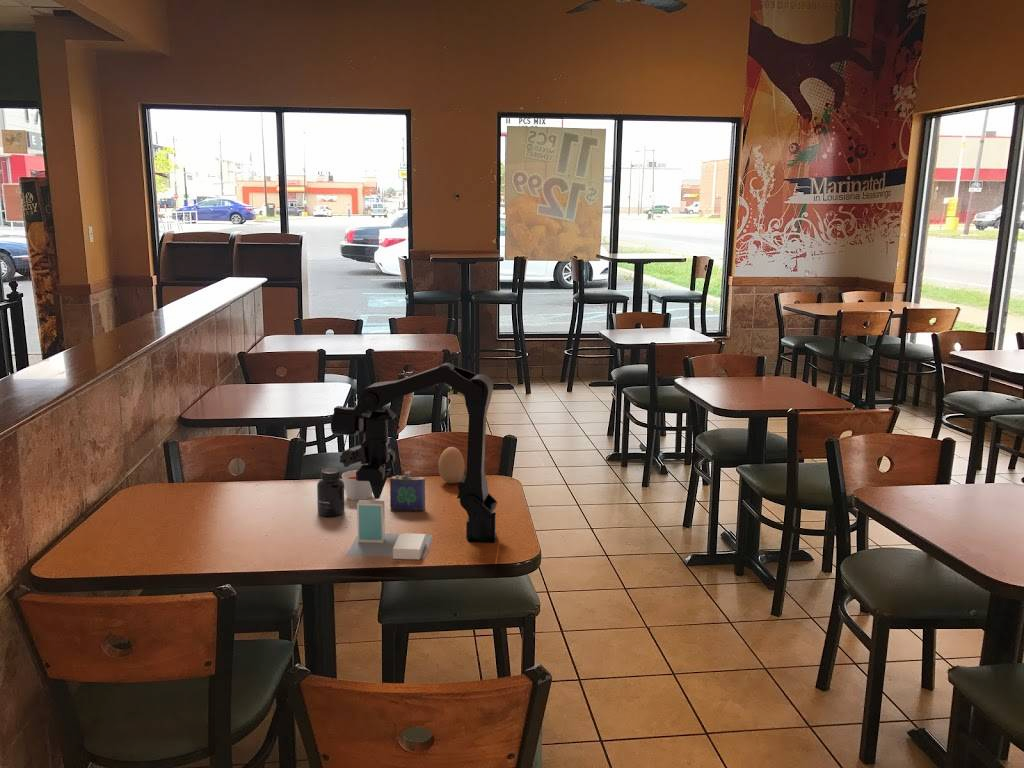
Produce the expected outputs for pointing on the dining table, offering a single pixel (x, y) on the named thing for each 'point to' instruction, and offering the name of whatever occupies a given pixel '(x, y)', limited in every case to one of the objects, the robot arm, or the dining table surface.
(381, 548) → the mat
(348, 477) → the candle
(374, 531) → the tile
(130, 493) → the dining table surface
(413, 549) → the tile
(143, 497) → the dining table surface
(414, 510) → the flask
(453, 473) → the egg
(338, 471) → the supplement bottle
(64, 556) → the dining table surface
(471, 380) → the robot arm
